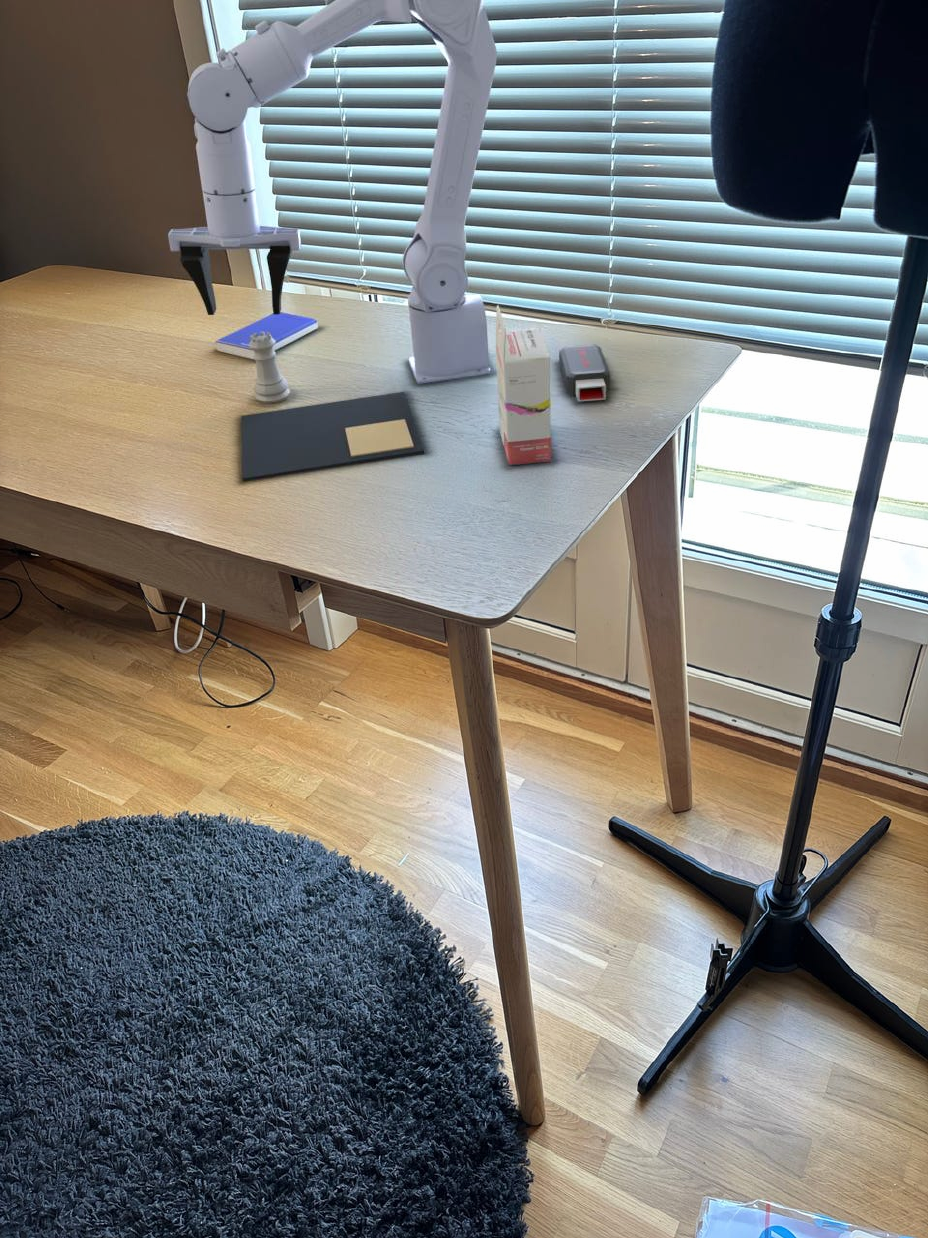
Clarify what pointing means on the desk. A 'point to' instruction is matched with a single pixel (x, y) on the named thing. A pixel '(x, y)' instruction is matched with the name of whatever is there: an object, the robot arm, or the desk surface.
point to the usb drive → (584, 372)
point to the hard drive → (278, 325)
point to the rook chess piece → (267, 371)
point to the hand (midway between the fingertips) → (244, 311)
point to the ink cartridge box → (523, 393)
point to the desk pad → (327, 436)
